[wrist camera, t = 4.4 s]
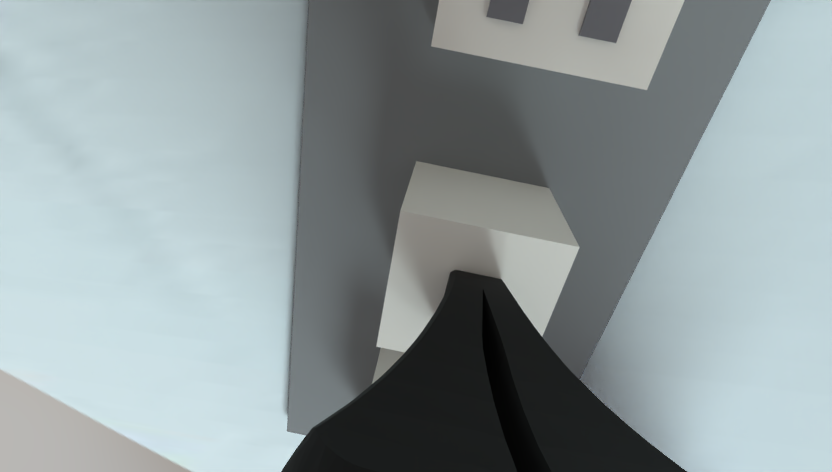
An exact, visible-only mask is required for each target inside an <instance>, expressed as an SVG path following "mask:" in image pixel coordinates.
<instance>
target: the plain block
mask: <svg viewBox="0 0 832 472" xmlns="http://www.w3.org/2000/svg"><path fill="white" fill-rule="evenodd" d="M579 248H580V247H579V245H578V243H577V241H576V239H575V237H574V235H573V233H572V231H571V230H570V228H569V226H568V224H567V222H566V220H565V218H564V216H563V214H562V212H561V210H560V208H559V206H558V204H557V202H556V200H555V199H554V197H553V195H552V193H551V191H550V189H549V188H546V187H541V186H536V185H531V184H527V183H522V182H517V181H512V180H507V179H502V178H497V177H492V176H487V175H482V174H478V173H473V172H468V171H463V170H458V169H453V168H448V167H443V166H438V165H433V164H429V163H424V162H419V161H416V164H415V167H414V170H413V173H412V176H411V179H410V182H409V185H408V189H407V192H406V195H405V198H404V201H403V204H402V207H401V210H400V216H399V221H398V227H397V233H396V238H395V244H394V250H393V255H392V261H391V266H390V272H389V278H388V283H387V289H386V295H385V300H384V306H383V312H382V317H381V323H380V329H379V334H378V340H377V345H376V347H381V348H386V349H391V350H395V351H400V352H406V351H407V349H408V348H409V347H410V346H411V345H412V344H413V342H414V341H415V340H416V339H417V337H418V336H419V335H420V333H421V332H422V331H423V329H424V328H425V326H426V325H427V323H428V322H429V321H430V319H431V318H432V316H433V315H434V313H435V311H436V310H437V308H438V306H439V304H440V302H441V300H442V299H443V297H444V294H445V290H446V286H447V282H448V278H449V274H450V272H452V271H454V270H460V271H465V272H470V273H475V274H479V275H484V276H489V277H494V278H499V279H502V280H503V282H504V283H505V285H506V286H507V288H508V289H509V291H510V292H511V294H512V295H513V297H514V298H515V300H516V301H517V303H518V304H519V306H520V307H521V309H522V310H523V312H524V313H525V314H526V316H527V317H528V319H529V320H530V321H531V323H532V324H533V326H534V327H535V328H536V330H537V331H538V332H539V333H540V335H541V336H543V334H544V331H545V329H546V326H547V324H548V322H549V319H550V317H551V315H552V312H553V310H554V307H555V305H556V303H557V300H558V298H559V295H560V293H561V291H562V288H563V286H564V283H565V281H566V279H567V276H568V274H569V272H570V269H571V267H572V264H573V262H574V260H575V257H576V255H577V252H578V250H579Z"/></svg>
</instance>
